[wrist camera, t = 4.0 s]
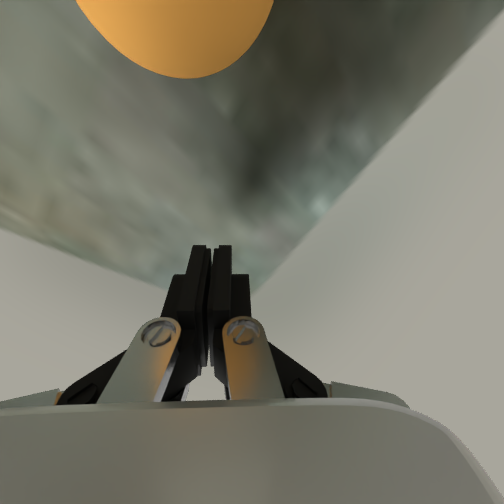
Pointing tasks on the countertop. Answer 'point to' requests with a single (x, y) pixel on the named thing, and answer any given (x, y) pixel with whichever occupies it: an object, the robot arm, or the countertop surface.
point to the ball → (179, 32)
